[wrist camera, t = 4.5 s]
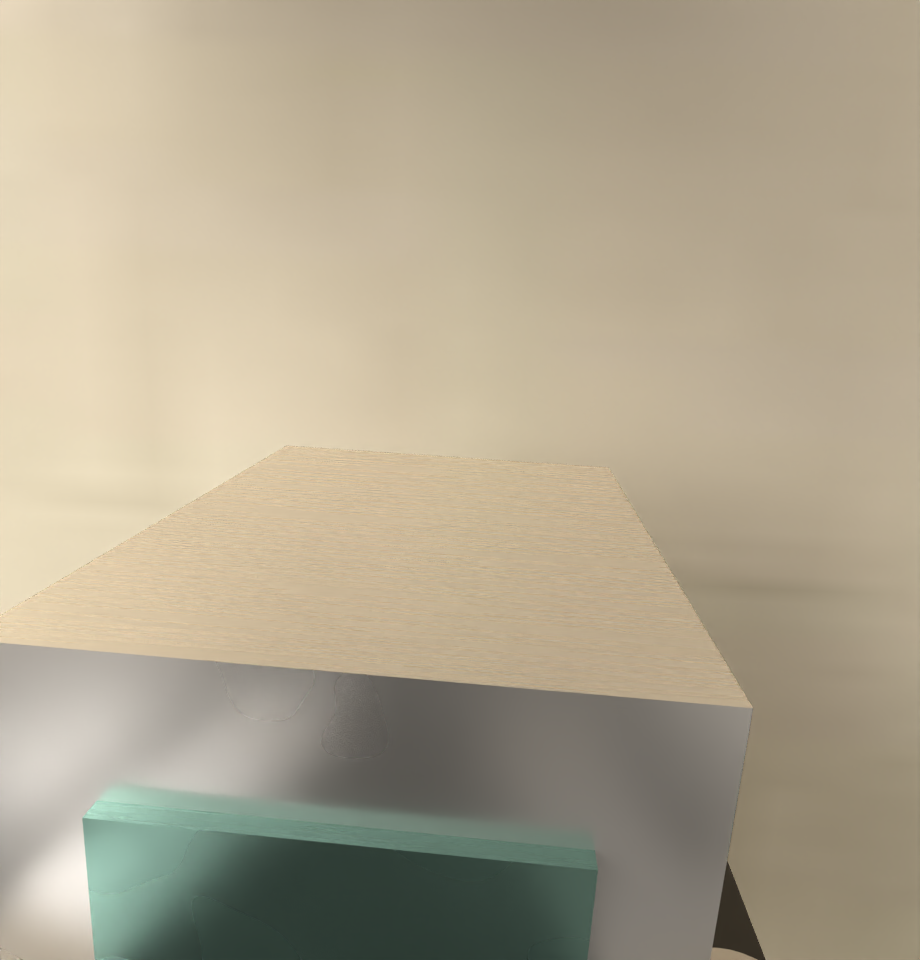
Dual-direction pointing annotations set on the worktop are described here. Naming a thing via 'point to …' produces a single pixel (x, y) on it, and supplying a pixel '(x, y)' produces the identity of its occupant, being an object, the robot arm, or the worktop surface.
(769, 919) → the worktop surface
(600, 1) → the worktop surface
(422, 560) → the block
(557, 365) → the worktop surface
